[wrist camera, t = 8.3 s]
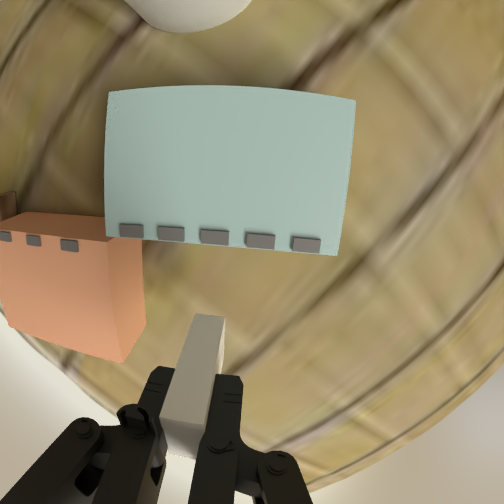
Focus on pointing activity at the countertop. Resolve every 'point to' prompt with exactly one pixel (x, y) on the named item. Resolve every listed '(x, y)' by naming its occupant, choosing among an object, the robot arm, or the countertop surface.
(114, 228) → the pale teal block
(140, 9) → the cup
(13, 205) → the rail
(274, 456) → the robot arm
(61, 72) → the countertop surface
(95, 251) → the stub
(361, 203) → the countertop surface
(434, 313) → the countertop surface
